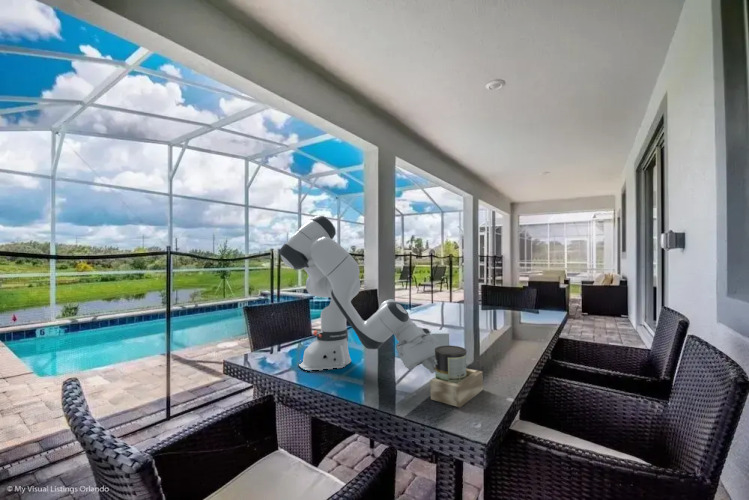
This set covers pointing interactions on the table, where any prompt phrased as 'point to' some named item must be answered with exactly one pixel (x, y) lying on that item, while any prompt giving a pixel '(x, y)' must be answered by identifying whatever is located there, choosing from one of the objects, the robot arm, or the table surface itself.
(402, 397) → the table surface
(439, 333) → the supplement box
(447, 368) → the coffee can
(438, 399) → the wooden dock
